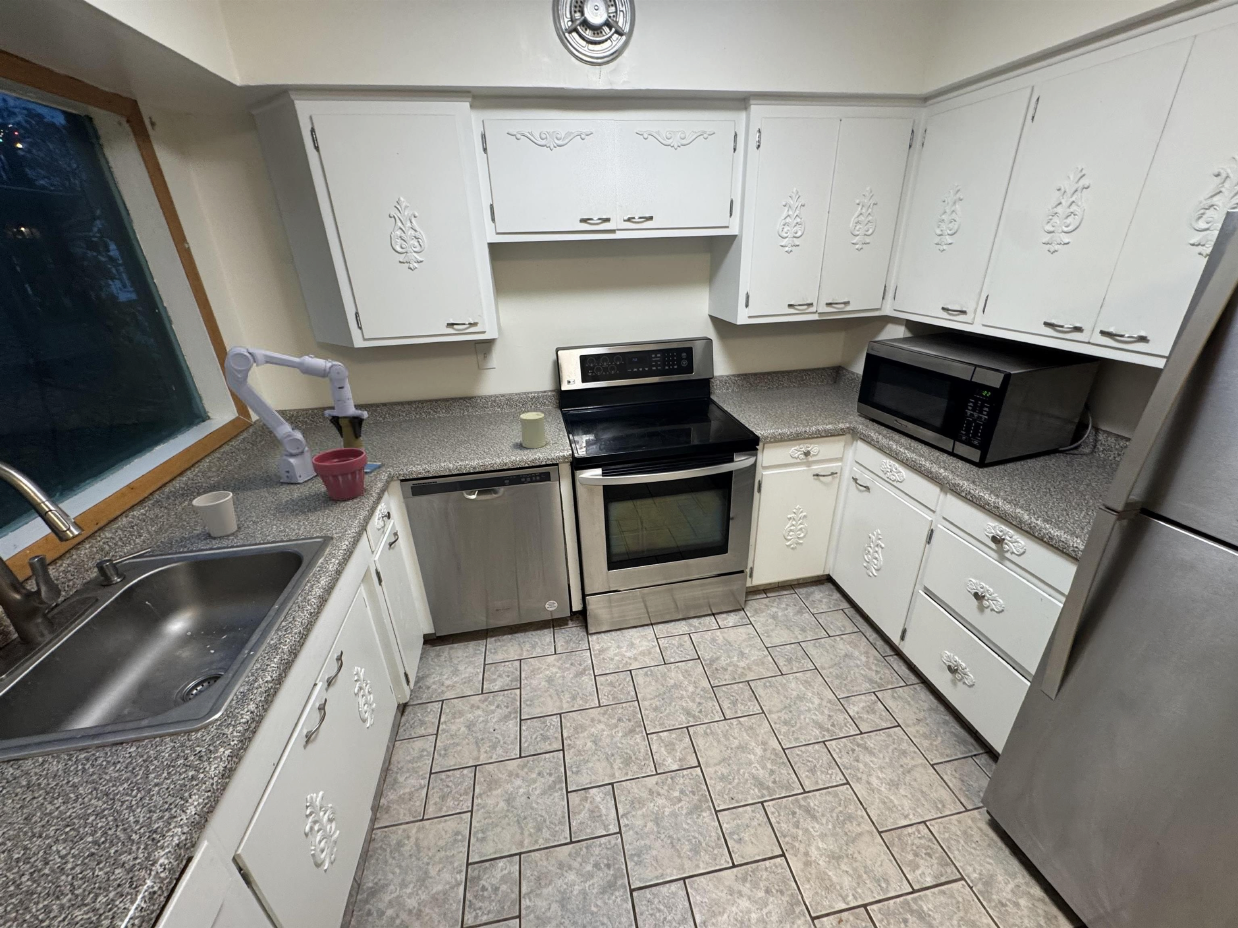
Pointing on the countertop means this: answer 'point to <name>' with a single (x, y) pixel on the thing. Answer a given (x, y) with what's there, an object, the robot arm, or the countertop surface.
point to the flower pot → (341, 472)
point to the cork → (349, 434)
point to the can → (533, 430)
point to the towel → (371, 466)
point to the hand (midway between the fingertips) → (351, 437)
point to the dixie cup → (217, 512)
